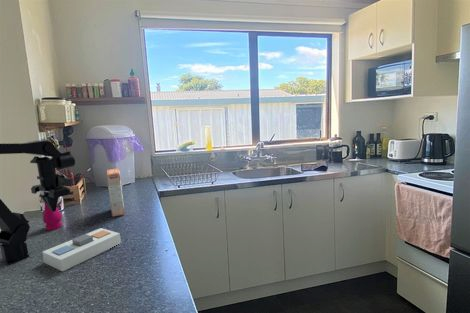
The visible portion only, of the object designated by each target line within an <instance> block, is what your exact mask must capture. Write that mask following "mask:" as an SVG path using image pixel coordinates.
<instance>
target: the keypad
mask: <svg viewBox="0 0 470 313" xmlns="http://www.w3.org/2000/svg"><path fill="white" fill-rule="evenodd" d="M102 230H103V231H107V232H110V234H108V235H106V236H104V237H101V238H99V239H98V238H95V237H93V241H92V242H90V243H88V244H85V245H83V246H81V247H79V246H76V245H74V244H73V242H72V239H71V240H68V241H65V242H63V243H60V244H58V245H56V246H53V247H51V248H48V249H45V250H44V251H42V252H41V253H42V259H43V263H44V264H46V265H48V266H51V267H52V268H54V269H57V270H58V271H60V272H65V271H67V270H68V269H70V268H71V269H72V268H73V267H75V266H78V265H79V264H81V263H83V262H85V261H87V260H89V259H92V258H93V257H96V256H98V255H100V254H102V253H104V252H106V251H108V250H110V248H111V249H113V248H115V247H117V246H119V245H121V244H122V239H121V233H120V232H116V231H113V230H109V229H106V228H102V227H100V228H97V229H95V230H92V231H90V232H87V233H85V234H86V235H89V236H91V235H93V234H95V233H98V232H100V231H102ZM120 243H121V244H120ZM118 244H119V245H118ZM66 245H67V246H69V247H72V248H74V250H71V251H69V252H67V253H65V254H62V255H60V256H58V255H56V254H53V253H52V251H54V250H56V249H59V248H61V247H64V246H66ZM116 245H117V246H116ZM114 246H115V247H114ZM112 247H113V248H112Z"/></svg>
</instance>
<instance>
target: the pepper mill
mask: <svg viewBox="0 0 470 313" xmlns="http://www.w3.org/2000/svg"><path fill="white" fill-rule="evenodd" d="M39 192H40V193H39V195H41V191H39ZM42 203H43V204H44V212H43V216H42V221H43V223H44V224H46V225H45V230H46V231H54V230H57V229H61V228H62V226H63V222H62V219H63V217H62V216H63V215H62V212H61V211H60V210H59V208H58V207H56V211H54V212H53V211H51V209H50V208H49V207H48V206H47V204H46V203H45V202H44V201H43V200H42Z"/></svg>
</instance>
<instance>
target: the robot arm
mask: <svg viewBox="0 0 470 313" xmlns="http://www.w3.org/2000/svg"><path fill="white" fill-rule="evenodd" d="M14 154H15V155H16V154H17V155H19V154H27V155H31V156H32V155H34V157H33V158H32V159H31V160H30V161H29V162H30V164H36V166H37V172H38V175H37V176H36V179H37V180H39V184H36V185H32V187H30V190H31V194H33V195H35V194H37V193H39V192H41V195H40V194H39V195H38V197H39V198H40V199H41V200H42V202H43V201H44V202H45V203H46V204H47V206H48V207H49V208H50V209H51V211H53V212H54V211H56V207H57V206H58V202H59V198H61V197H65V196H68V195H71V193H72V192H71V188H69V187H73V183H74V179H73V178H68V177H65V175H64V174H63V175H62V174H59V173H57V170H58V171H60V170H61V171H62V170H65V169H70V168H74V166H75V165H76V160H75V157H74V156H73V154H71V151H70V150H68V151H67V150H66V151H63V152H61V151H60V150H59V149H58V148H57V147H56V146H55V144H54V143H53V142H52V141H51V140H48V139H47V140H42V139H41V140H34V141H28V142H24V143H22V142H21V143H19V142H17V143H15V142H14V143H0V155H14ZM39 156H42V157H39ZM57 208H58V207H57ZM29 223H30V221H29V220H27V219H26V217H25V215H24V214H23V213H19V212H14V211H13V212H12V210H11V209H10V208H9V207H8V206H7V205H6V204H5V203H4V201H3V200H2V199H1V198H0V252H1V257H2V258H1V259H0V261H1V262H3V263H4V264H7V265H12V264H14V263H16V262H19V261H22V260H24V259H27V258H29V257H30V255H29V250H28V244H27V242H26V241H27V237H28V233H29V232H30V228H31V227H30V226H31V225H30V224H29Z"/></svg>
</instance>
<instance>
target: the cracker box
mask: <svg viewBox="0 0 470 313" xmlns="http://www.w3.org/2000/svg"><path fill="white" fill-rule="evenodd" d="M106 171H107V172H106V179H107V188H108V195H109V202H110V204H109V205H110V212H111V217H112V218H113V217H114V218H115V217H119V216H124V215H125V205H124V197H123V188H122V187H123V186H122V179H121V177H122V176H121V172H120V168H112V169H110V168H109V169H107V170H106Z"/></svg>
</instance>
